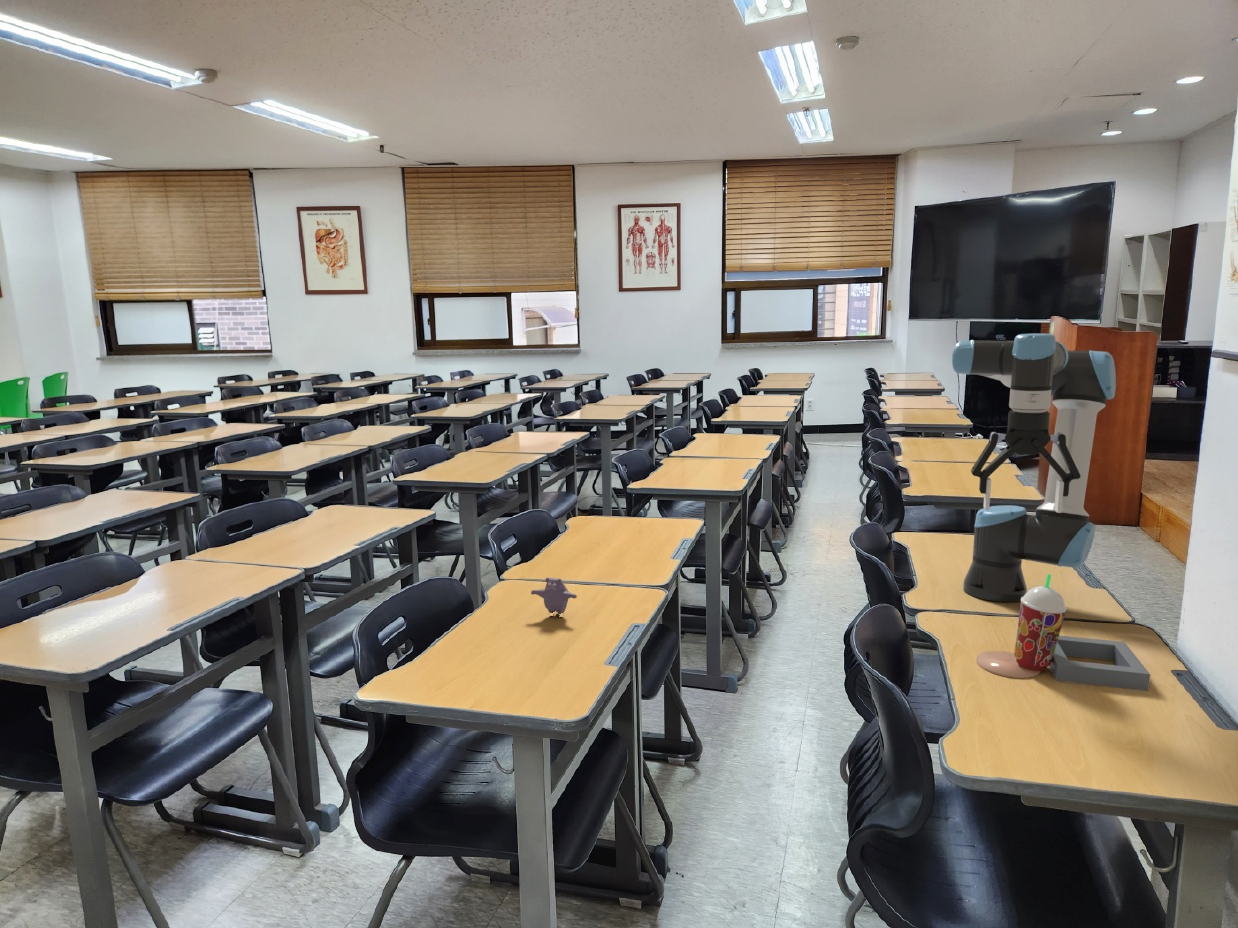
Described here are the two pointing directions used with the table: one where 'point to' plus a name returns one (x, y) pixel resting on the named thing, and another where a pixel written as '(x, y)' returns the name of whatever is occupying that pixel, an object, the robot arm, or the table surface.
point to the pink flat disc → (1004, 664)
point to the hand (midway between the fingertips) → (1021, 509)
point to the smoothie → (1039, 626)
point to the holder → (1120, 676)
